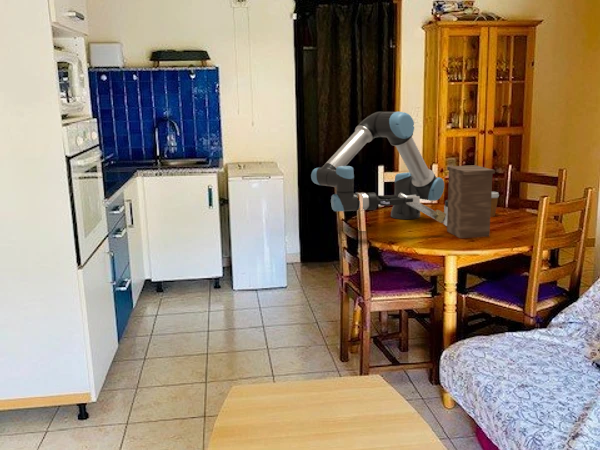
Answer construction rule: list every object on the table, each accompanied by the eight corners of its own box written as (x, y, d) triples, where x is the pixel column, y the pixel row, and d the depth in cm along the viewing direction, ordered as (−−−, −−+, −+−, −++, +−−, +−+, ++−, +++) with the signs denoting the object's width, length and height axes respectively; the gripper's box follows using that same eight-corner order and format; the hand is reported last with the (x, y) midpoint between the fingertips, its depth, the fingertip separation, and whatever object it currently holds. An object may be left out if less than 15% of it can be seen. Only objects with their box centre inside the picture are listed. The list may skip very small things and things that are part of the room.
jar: (452, 227, 284) (453, 203, 282) (440, 224, 291) (441, 200, 288) (465, 225, 289) (466, 200, 286) (453, 222, 296) (453, 198, 293)
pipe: (395, 198, 265) (400, 189, 264) (439, 221, 271) (444, 213, 271) (399, 199, 260) (404, 190, 260) (443, 223, 267) (448, 215, 266)
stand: (445, 230, 280) (447, 166, 273) (472, 228, 282) (475, 165, 276) (462, 239, 263) (464, 171, 256) (491, 237, 265) (495, 170, 258)
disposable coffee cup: (502, 216, 307) (503, 193, 305) (487, 218, 304) (488, 194, 301) (489, 212, 316) (491, 190, 313) (475, 214, 313) (476, 192, 310)
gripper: (361, 206, 269) (410, 203, 273) (372, 213, 253) (424, 210, 257) (361, 189, 267) (411, 187, 271) (372, 196, 252) (424, 193, 256)
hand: (417, 198), depth 264 cm, fingers closed on pipe, 3 cm apart
